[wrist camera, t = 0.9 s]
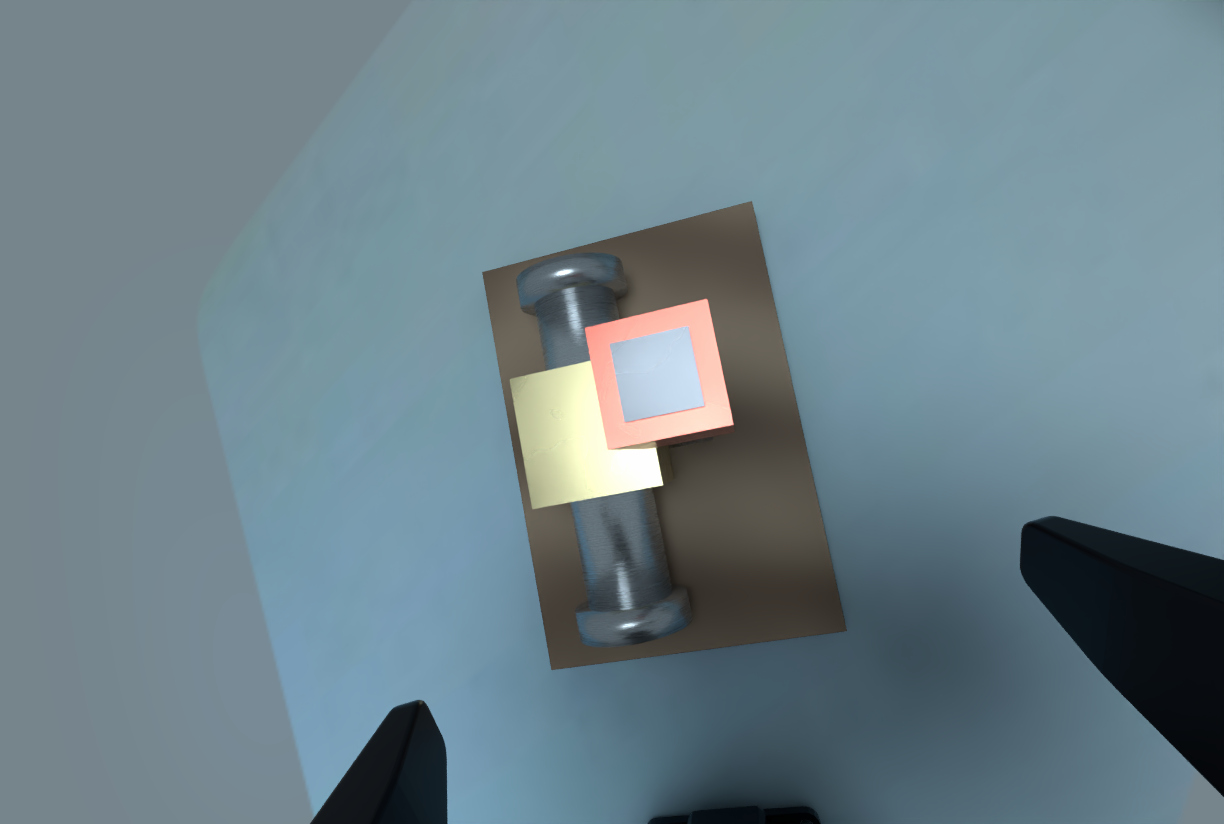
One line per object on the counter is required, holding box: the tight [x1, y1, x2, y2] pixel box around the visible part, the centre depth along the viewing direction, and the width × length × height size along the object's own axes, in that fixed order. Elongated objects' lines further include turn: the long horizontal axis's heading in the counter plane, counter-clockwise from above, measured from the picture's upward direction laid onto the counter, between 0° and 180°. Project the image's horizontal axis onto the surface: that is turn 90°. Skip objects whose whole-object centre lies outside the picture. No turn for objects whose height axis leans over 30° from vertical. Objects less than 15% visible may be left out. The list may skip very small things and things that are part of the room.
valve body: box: [509, 252, 692, 647], centre depth 22 cm, size 13×4×4 cm, turn 11°
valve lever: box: [585, 299, 735, 450], centre depth 16 cm, size 2×2×11 cm
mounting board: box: [482, 201, 847, 670], centre depth 24 cm, size 16×11×1 cm
